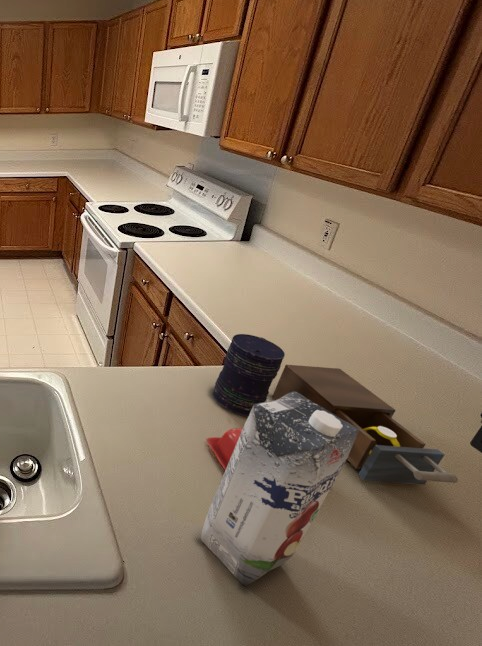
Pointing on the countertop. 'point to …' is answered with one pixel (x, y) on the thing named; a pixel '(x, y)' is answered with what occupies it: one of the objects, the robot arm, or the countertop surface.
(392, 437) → the watch
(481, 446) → the robot arm
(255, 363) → the storage jar
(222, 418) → the countertop surface
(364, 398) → the cabinet
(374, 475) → the drawer
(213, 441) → the butter dish
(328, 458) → the juice carton
